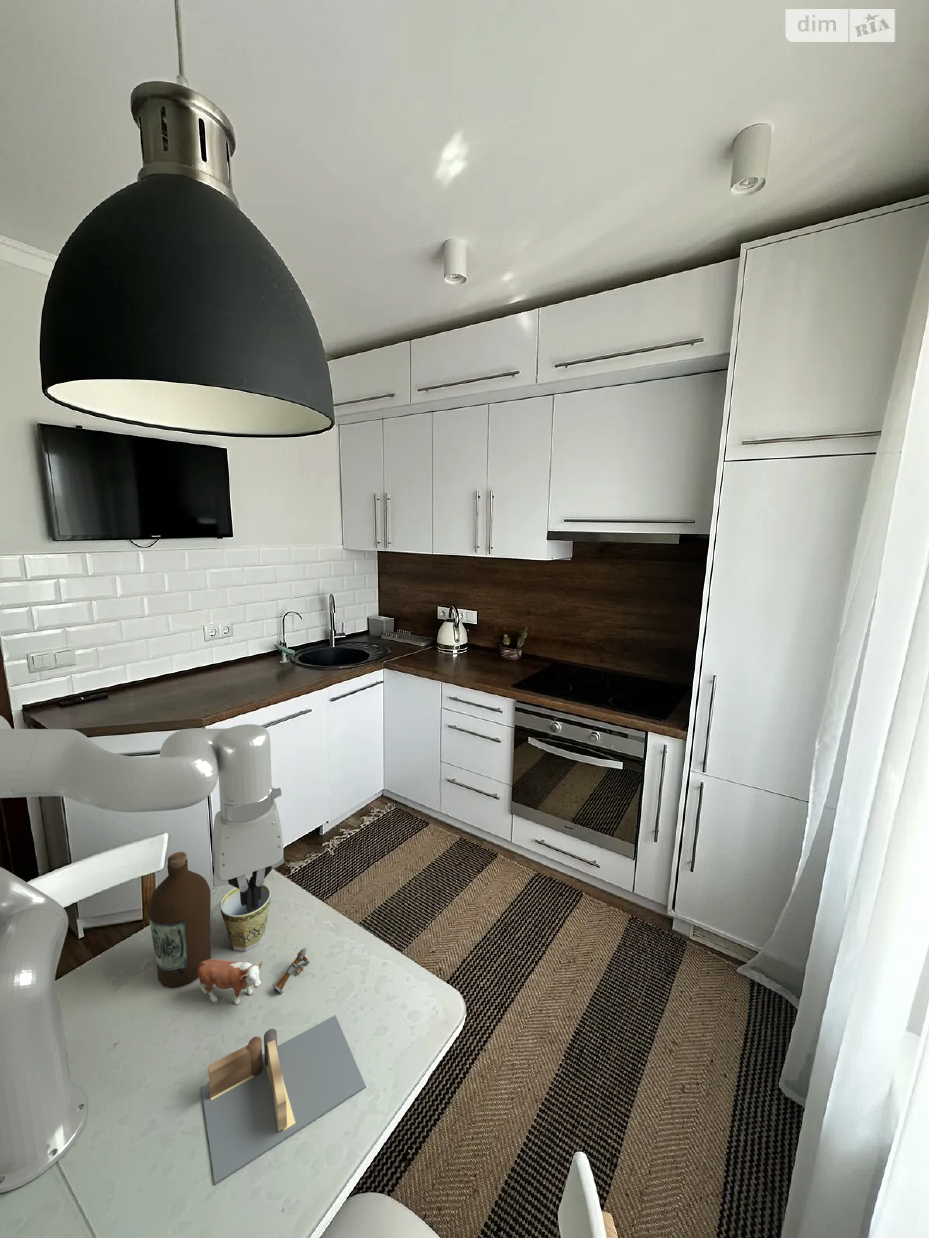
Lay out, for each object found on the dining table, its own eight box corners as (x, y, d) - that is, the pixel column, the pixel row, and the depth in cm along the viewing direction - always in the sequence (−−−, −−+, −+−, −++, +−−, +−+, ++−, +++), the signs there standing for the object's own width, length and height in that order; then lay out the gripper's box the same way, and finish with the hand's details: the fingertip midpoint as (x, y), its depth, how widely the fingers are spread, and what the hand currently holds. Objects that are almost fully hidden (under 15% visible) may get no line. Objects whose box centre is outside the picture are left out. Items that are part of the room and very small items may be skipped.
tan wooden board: (263, 1056, 83) (263, 1031, 82) (276, 1050, 84) (275, 1026, 83) (275, 1132, 72) (274, 1105, 72) (289, 1125, 73) (289, 1098, 73)
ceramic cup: (259, 960, 102) (257, 918, 100) (212, 956, 102) (209, 914, 100) (285, 912, 114) (284, 874, 113) (243, 909, 115) (242, 871, 113)
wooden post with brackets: (314, 958, 102) (307, 948, 99) (286, 1000, 96) (277, 989, 94) (308, 954, 102) (301, 943, 100) (279, 995, 97) (271, 984, 95)
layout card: (215, 1184, 67) (214, 1182, 67) (201, 1088, 78) (201, 1086, 78) (365, 1087, 79) (365, 1085, 79) (335, 1016, 91) (335, 1014, 91)
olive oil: (178, 942, 105) (170, 837, 101) (225, 948, 104) (219, 842, 100) (141, 987, 95) (130, 872, 90) (192, 994, 94) (184, 878, 89)
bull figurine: (257, 1016, 90) (256, 978, 89) (193, 999, 93) (191, 963, 91) (271, 994, 94) (270, 958, 93) (210, 979, 97) (207, 944, 96)
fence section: (211, 1101, 76) (209, 1072, 75) (209, 1088, 78) (207, 1061, 77) (263, 1071, 81) (262, 1044, 80) (261, 1060, 82) (259, 1034, 81)
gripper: (288, 781, 85) (291, 875, 88) (190, 805, 77) (197, 908, 80) (301, 801, 79) (303, 901, 82) (196, 830, 70) (203, 940, 74)
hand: (251, 904), depth 81 cm, fingers closed
